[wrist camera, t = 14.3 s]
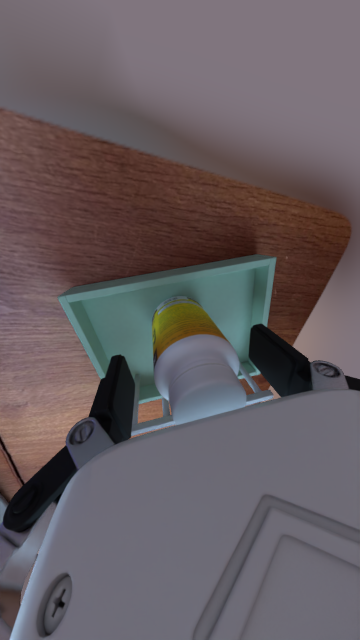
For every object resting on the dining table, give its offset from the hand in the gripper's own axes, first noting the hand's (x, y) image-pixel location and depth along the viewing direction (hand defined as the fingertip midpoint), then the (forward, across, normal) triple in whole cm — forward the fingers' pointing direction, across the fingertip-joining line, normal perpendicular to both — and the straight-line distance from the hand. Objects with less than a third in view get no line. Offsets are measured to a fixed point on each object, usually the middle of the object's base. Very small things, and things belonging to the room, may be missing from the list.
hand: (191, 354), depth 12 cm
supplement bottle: (+6, 0, 0) cm, 6 cm away
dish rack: (+7, 0, +2) cm, 7 cm away
